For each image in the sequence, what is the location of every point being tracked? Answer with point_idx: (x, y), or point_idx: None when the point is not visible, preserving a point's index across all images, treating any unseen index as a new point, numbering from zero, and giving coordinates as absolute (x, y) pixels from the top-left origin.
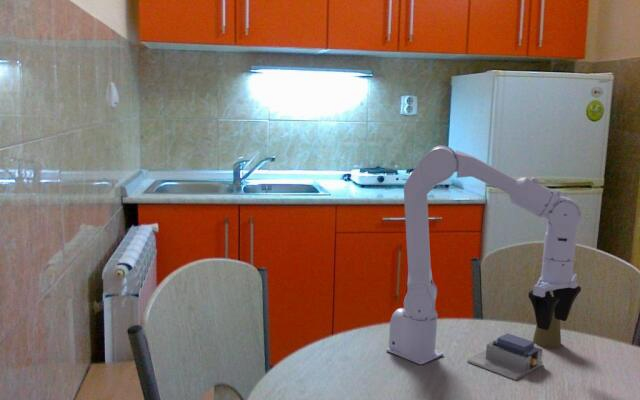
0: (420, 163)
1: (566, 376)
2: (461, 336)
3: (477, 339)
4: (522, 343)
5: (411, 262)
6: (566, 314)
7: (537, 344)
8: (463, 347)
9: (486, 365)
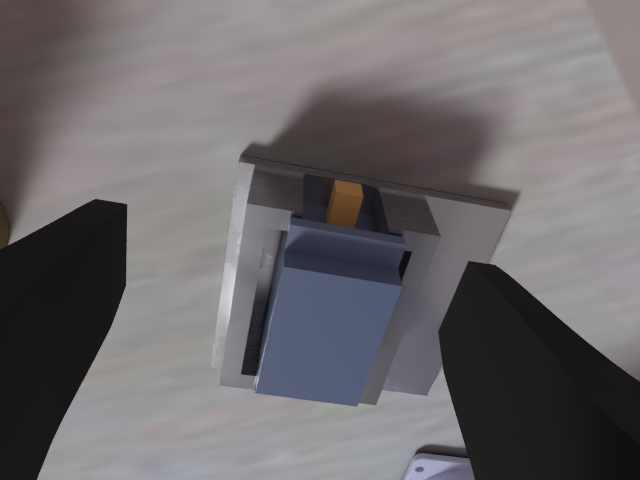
0: None
1: (306, 7)
2: (195, 464)
3: (176, 424)
4: (355, 306)
5: None
6: (98, 236)
7: (6, 243)
8: (295, 431)
9: None
